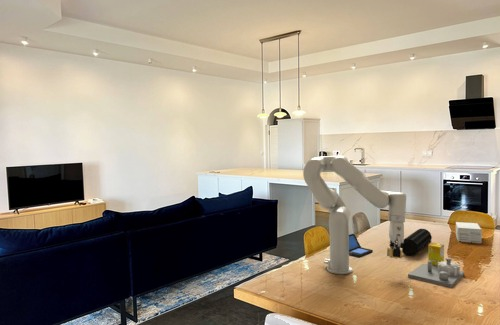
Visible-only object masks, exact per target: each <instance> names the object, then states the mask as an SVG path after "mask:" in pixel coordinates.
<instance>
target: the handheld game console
mask: <svg viewBox="0 0 500 325" xmlns="http://www.w3.org/2000/svg"><path fill="white" fill-rule="evenodd" d="M372 253H373V249H370V248H366V247H362V245H361V244H360V243H359V241H358V238H357V237H356V235H355V233H351V234H350V233H349V256H351V257H352V256H353V257H357V258H361V257H364V256H367V255H369V254H372Z"/></svg>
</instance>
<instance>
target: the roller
mask: <svg viewBox="0 0 500 325" xmlns="http://www.w3.org/2000/svg"><path fill="white" fill-rule="evenodd" d="M432 238H433V236H432V234H431V231H429V230H428V229H426V228H419V229H417V230H415V231H413V233H411V234H409V235H408V236H406V237H404V243H401V248H402V249H403V250H402V254H403V255H405V256H407V257H408V256H409V257H414V256H415V255H418V253H419V252H420V251H421V250H423V249H424V248H425V247H427V245H429V244H431V243H432V242H431V241H432Z"/></svg>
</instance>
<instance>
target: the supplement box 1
mask: <svg viewBox="0 0 500 325" xmlns="http://www.w3.org/2000/svg"><path fill="white" fill-rule="evenodd" d="M427 245H428V246H427V247H428V250H427V251H428V252H427V253H428V256H427V258H428V260H427V262H428V261H432V265H433V266H438V262H441V261H443V262H445V244H443V243H436V242H430V243H429V244H427Z"/></svg>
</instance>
